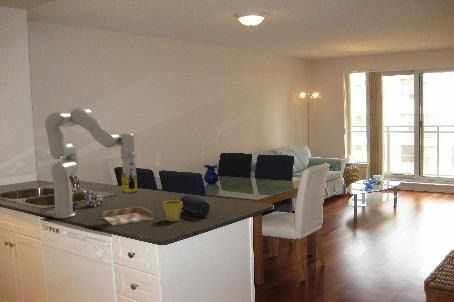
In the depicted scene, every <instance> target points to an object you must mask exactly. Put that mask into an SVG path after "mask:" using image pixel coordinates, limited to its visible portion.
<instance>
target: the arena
mask: <svg viewBox="0 0 454 302" xmlns="http://www.w3.org/2000/svg"><path fill="white" fill-rule="evenodd" d="M102 219H103V220H104V221H106V222H108V223H109V224H110V225H112V226H120V225H127V224H133V223H139V222H146V221H152V220H153V221H154V212H153V211H151V210H149V209H147V208H145V207H143V206H141V205H140V206H133V207H127V208H125V207H124V208H119V209H110V210H103V211H102Z"/></svg>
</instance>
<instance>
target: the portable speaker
mask: <svg viewBox="0 0 454 302" xmlns="http://www.w3.org/2000/svg"><path fill="white" fill-rule="evenodd" d="M178 200H179V201H182V203H183V207H182V209H181V211H183V212H184V213H187V214H189V215H192V216H195V217H196V218H205V217H206V216H207V215H209V213H210V206H211V205H210V204H209V202H208V201H207V200H205V199H204V198H200V197H198V196H195V195H194V196H193V195H190V194H187V195H186V194H185V195H183V196H181V197H180V199H178Z"/></svg>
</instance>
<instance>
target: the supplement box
mask: <svg viewBox="0 0 454 302" xmlns="http://www.w3.org/2000/svg"><path fill="white" fill-rule="evenodd" d="M137 175H138V174H137V172H136V176H135V189H129V177H127V174H125V173H123V172H122V173H121V192H122V194H127V195H130V194H135V193H138V180H137ZM129 176H132V175H130V174H129ZM130 179H131V178H130Z"/></svg>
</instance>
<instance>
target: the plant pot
mask: <svg viewBox="0 0 454 302" xmlns="http://www.w3.org/2000/svg"><path fill="white" fill-rule="evenodd" d="M179 200H180V199H178V200H177V199H174V200H166V201H164V202H163V203H162V204H163V205H162V207H163V210H164V213H165V217H166V221H169V222H177V220H178V221H179V220H180V218H181V212H182V210H181V209H182V207H183V203H182V201H179Z"/></svg>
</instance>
